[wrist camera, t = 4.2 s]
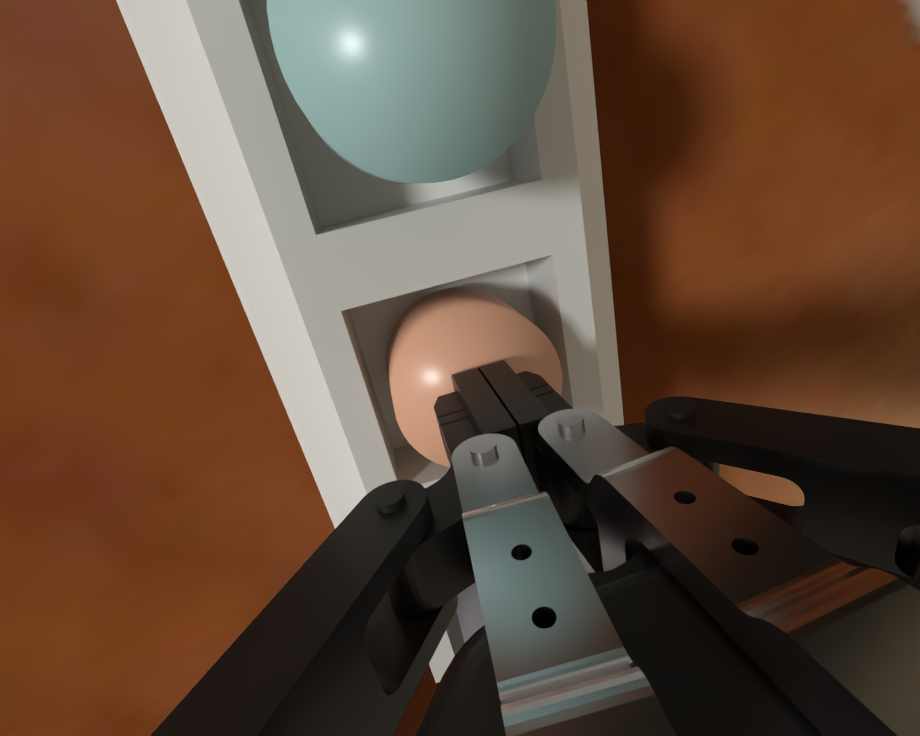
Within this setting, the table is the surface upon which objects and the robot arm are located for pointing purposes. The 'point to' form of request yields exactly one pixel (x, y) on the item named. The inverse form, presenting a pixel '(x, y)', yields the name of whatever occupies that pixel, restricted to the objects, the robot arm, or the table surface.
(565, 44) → the button board
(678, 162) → the table surface
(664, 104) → the table surface
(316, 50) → the teal button
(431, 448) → the terracotta button
